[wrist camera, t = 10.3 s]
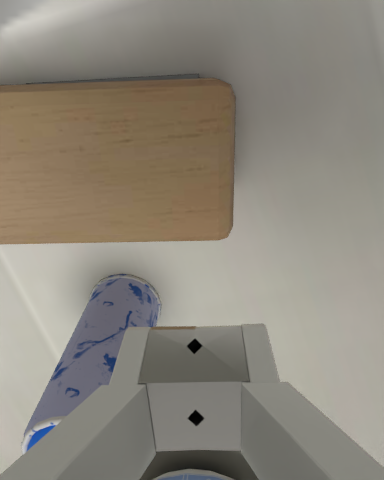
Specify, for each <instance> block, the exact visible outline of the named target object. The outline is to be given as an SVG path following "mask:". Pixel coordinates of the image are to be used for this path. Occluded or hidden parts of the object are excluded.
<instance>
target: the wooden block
mask: <svg viewBox="0 0 384 480" xmlns="http://www.w3.org/2000/svg"><path fill="white" fill-rule="evenodd" d="M234 149H235V95H234V92H233V90H232V87H231V85H230V84H228V83H226V82H223V81H221V80H219V79H215V78H198V79H169V80H140V81H111V82H82V83H54V84H25V85H0V244H41V243H96V242H150V241H204V240H221V239H224V238H227V237H228V236H229V233H230V231H231V229H232V227H233V200H234Z"/></svg>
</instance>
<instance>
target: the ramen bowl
mask: <svg viewBox="0 0 384 480" xmlns="http://www.w3.org/2000/svg"><path fill="white" fill-rule="evenodd" d="M152 480H235V479H232V478H230V477H227V476H224V475H221V474H219V473H216V472H213V471H210V470H198V469H184V470H178V471H173V472H168V473H165V474H162V475H160V476H158V477H156V478H154V479H152Z"/></svg>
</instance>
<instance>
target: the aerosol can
mask: <svg viewBox="0 0 384 480" xmlns="http://www.w3.org/2000/svg"><path fill="white" fill-rule="evenodd" d="M160 310H161V302H160V298H159V295H158V294H157V292H156V291H155V289H154V288H153V287H152V286H151V285H150V284H149V283H147V282H146V281H145V280H143V279H141V278H138V277H136V276H133V275H126V274H118V275H111V276H109V277H106V278H104V279H102V280H101V281H100V282H99V283H98V284H97V285H95V286H94V288H93V290H92V292H91V295H90V297H89V302H88V304H87V306H86V308H85V310H84V312H83V314H82V316H81V318H80V320H79V322H78V324H77V326H76V328H75V330H74V332H73V334H72V337H71V339H70V341H69V343H68V345H67V347H66V349H65V351H64V353H63V355H62V357H61V359H60V361H59V363H58V365H57V367H56V369H55V371H54V373H53V375H52V377H51V379H50V381H49V383H48V385H47V387H46V389H45V391H44V393H43V395H42V397H41V399H40V401H39V403H38V405H37V407H36V409H35V411H34V413H33V415H32V417H31V419H30V421H29V423H28V426H27V428H26V430H25V433H24V439H23V441H22V445H21V448H22V455H23V454H24V453H26V452H27V451H28V450H29V449H30V448H31V447H32V446H33V445H35V444H36V443H37V442H38V441H39V440H40V439H41V438H43V437H44V436H45V435H46V434H47V433H48V432H49V431H50V430H52V429H53V428H54V427H55V426H56V425H57V424H58V423H59V422H61V421H62V420H63V419H64V418H65V417H66V416H67V415H69V414H70V413H71V412H72V411H73V410H74V409H75V408H76V407H78V406H79V405H80V404H81V403H82V402H83V401H84V400H85V399H87V398H88V397H89V396H90V395H91V394H92V393H93V392H95V391H96V390H97V389H98V388H99V387H100V386H101V385H109V383H110V380H111V376H112V373H113V370H114V366H115V363H116V360H117V357H118V353H119V350H120V347H121V344H122V340H123V337H124V334H125V331H126V330H127V329H128V327H156V324H157V320H158V318H159V317H160Z"/></svg>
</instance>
